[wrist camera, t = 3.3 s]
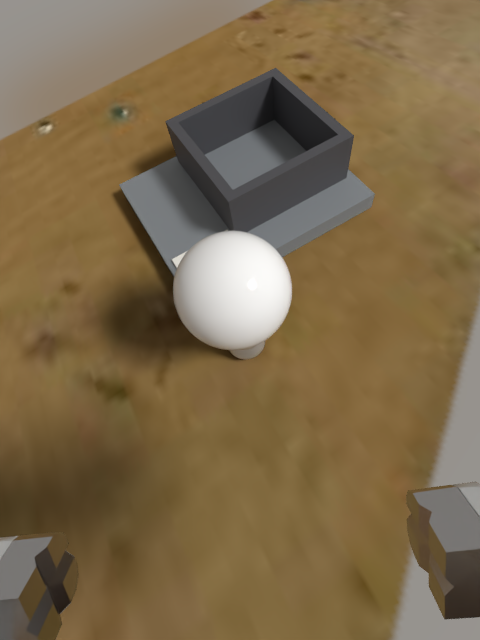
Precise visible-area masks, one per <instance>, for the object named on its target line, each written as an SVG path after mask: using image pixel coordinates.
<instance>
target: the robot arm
mask: <svg viewBox="0 0 480 640" xmlns="http://www.w3.org/2000/svg"><path fill="white" fill-rule="evenodd" d="M406 504H407V506H408V508H409V510H410V512H411V515H410V516H409V517H408V518H407V531H408V536H409V540H410V544H411V547H412V550H413V553H414V555H415V558H416V560H417V562H418V564H419V566H420V567H421V568H423V569H424V570H425V571H427V572H428V573H429V588H430V590H431V592H432V594H433V596H434V598H435V600H436V602H437V604H438V606H439V608H440V611H441V613H442V615H443V617H444V619H460V618H475V617H480V484H479V483H477V482H470V483H462V484H454V485H447V486H439V487H431V488H423V489H415V490H408V492H407V495H406ZM68 544H69V542H68V540H67V538H66V536H65V534H64V533H63V532H52V533H40V534H29V535H20V536H11V537H0V640H55V639H56V637H57V635H58V632H59V630H60V628H61V625H62V621H61V617H60V613H61V612H62V611H63V610H64V609H65V608H66V607H67V606H68V605H69V604H70V603H71V601H72V599H73V596H74V594H75V591H76V588H77V581H78V565H77V562H76V560H75V557H74V556H73V555H71V554H70V553H68V552H67V551H66V548H67V546H68Z"/></svg>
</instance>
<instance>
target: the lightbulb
mask: <svg viewBox="0 0 480 640" xmlns="http://www.w3.org/2000/svg"><path fill="white" fill-rule="evenodd" d="M173 298H174V304H175V307H176V311H177V313H178V315H179V317H180V319H181V321H182V323H183V324H184V326H185V327H186V328H187V329H188V331H189V332H190V333H191V334H192V335H194V336H195V337H196V338H197V339H199V340H200V341H202V342H203V343H205V344H207V345H210V346H212V347H215V348H219V349H224V350H229V351H230V352H231V353H232V354H233V355H234V356H235V357H237V358H239V359H252V358H254V357H256V356H258V355H259V354H260V353H261V352H262V350H263V348H264V346H265V340H267V339H268V338H269V337H270V336H272V335H273V334H274V333H275V332H276V331H277V330H278V328H279V327H280V326H281V324H282V323H283V321H284V320H285V318H286V316H287V313H288V311H289V308H290V304H291V299H292V282H291V277H290V273H289V270H288V268H287V265H286V263H285V261H284V260H283V258H282V256H281V255H280V254H279V252H278V251H277V250H276V249H275V248H274V247H273V246H272V245H271V244H269V243H268V242H267V241H265V240H264V239H262V238H260V237H258V236H256V235H254V234H251V233H248V232H243V231H222V232H217V233H214V234H211V235H209V236H206V237H204V238H203V239H201V240H199V241H198V242H197V243H195V244H194V245H193V246H192V247H191V248H190V249H189V250H188V251H187V252H186V253H185V255H184V256H183V258H182V259H181V261H180V263H179V265H178V267H177V270H176V273H175V276H174V282H173Z"/></svg>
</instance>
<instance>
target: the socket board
mask: <svg viewBox="0 0 480 640" xmlns="http://www.w3.org/2000/svg"><path fill="white" fill-rule="evenodd" d="M165 122H166V125H167V128H168V131H169V134H170V137H171V140H172V143H173V146H174V149H175V153H176V157H174V158H172V159H170V160H168V161H166V162H164V163H162V164H160V165H158V166H156V167H154V168H152V169H150V170H148V171H146V172H144V173H142V174H140V175H138V176H136V177H134V178H132V179H130V180H128V181H126V182H124V183H122V184H120V185H119V186H120V187H121V189H122V191H123V193H124V195H125V197H126V198H127V200H128V202H129V203H130V205H131V207H132V208H133V210H134V212H135V213H136V215H137V217H138V218H139V220H140V222H141V223H142V225H143V227H144V228H145V230H146V232H147V233H148V235H149V237H150V238H151V240H152V242H153V243H154V245H155V247H156V248H157V250H158V252H159V253H160V255H161V257H162V258H163V260H164V262H165V263H166V265H167V266H168V268H169V270H170V271H171V273H172V275H173V276H175V273H176V270H177V267H178V265H179V263H180V261H181V259H182V258H183V256H184V255H185V253H186V252H187V251H188V250H189V249H190V248H191V247H192V246H193V245H194V244H195V243H197V242H198V241H199V240H201V239H203V238H204V237H206V236H209V235H211V234H214V233H217V232H222V231H243V232H248V233H251V234H254V235H256V236H258V237H260V238H262V239H264V240H265V241H267V242H268V243H269V244H271V245H272V246H273V247H274V248H275V249H276V250H277V251H278V252H279V254H280V255H281V256H282V257H283V256H285V255H287V254H289V253H290V252H292V251H294V250H296V249H298V248H299V247H301V246H303V245H305V244H306V243H308V242H310V241H312V240H314V239H315V238H317V237H319V236H321V235H322V234H324V233H326V232H328V231H330V230H331V229H333V228H335V227H337V226H338V225H340V224H342V223H344V222H346V221H347V220H349V219H351V218H353V217H354V216H356V215H358V214H360V213H362V212H363V211H365V210H367V209H369V208H370V207H371V206H372V202H373V199H374V195H375V194H374V193H373V192H372V191H371V190H370V189H369V188H368V187H367V186H366V185H365V184H364V183H363V182H361V181H360V180H359V179H358V178H357V177H356V176H355V175H354V174H353V173H352V172H351V171H350V170H349V169H348V167H349V161H350V155H351V149H352V144H353V138H354V135H352V134H351V133H350V132H349V131H348V130H347V129H346V128H344V127H343V126H342V125H341V124H340V123H339V122H337V121H336V120H335V119H334V118H333V117H332V116H331V115H329V114H328V113H327V112H326V111H325V110H324V109H322V108H321V107H320V106H319V105H318V104H317V103H315V102H314V101H313V100H312V99H311V98H310V97H309V96H307V95H306V94H305V93H304V92H303V91H302V90H300V89H299V88H298V87H297V86H296V85H295V84H294V83H292V82H291V81H290V80H289V79H288V78H287V77H285V76H284V75H283V74H282V73H281V72H280V71H278V70H277V69H276V68H275V69H272V70H270V71H268V72H266V73H264V74H262V75H260V76H258V77H256V78H254V79H252V80H250V81H248V82H246V83H244V84H242V85H240V86H237V87H235V88H233V89H231V90H229V91H227V92H225V93H223V94H221V95H219V96H217V97H215V98H213V99H211V100H209V101H207V102H204V103H202V104H200V105H198V106H196V107H194V108H192V109H190V110H188V111H186V112H184V113H182V114H180V115H178V116H176V117H174V118H172V119H169V120H167V121H165Z"/></svg>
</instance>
